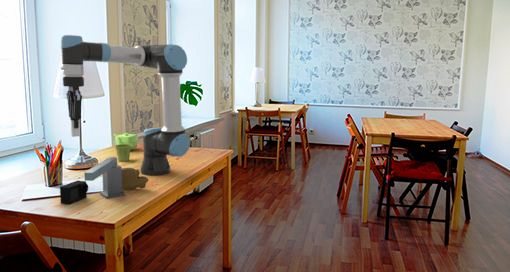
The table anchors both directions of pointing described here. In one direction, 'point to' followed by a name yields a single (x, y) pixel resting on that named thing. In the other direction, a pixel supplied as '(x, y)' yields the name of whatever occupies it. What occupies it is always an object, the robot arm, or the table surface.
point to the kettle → (127, 139)
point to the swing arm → (100, 168)
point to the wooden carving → (132, 179)
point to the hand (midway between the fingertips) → (75, 136)
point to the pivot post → (112, 183)
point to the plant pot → (123, 151)
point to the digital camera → (73, 192)
